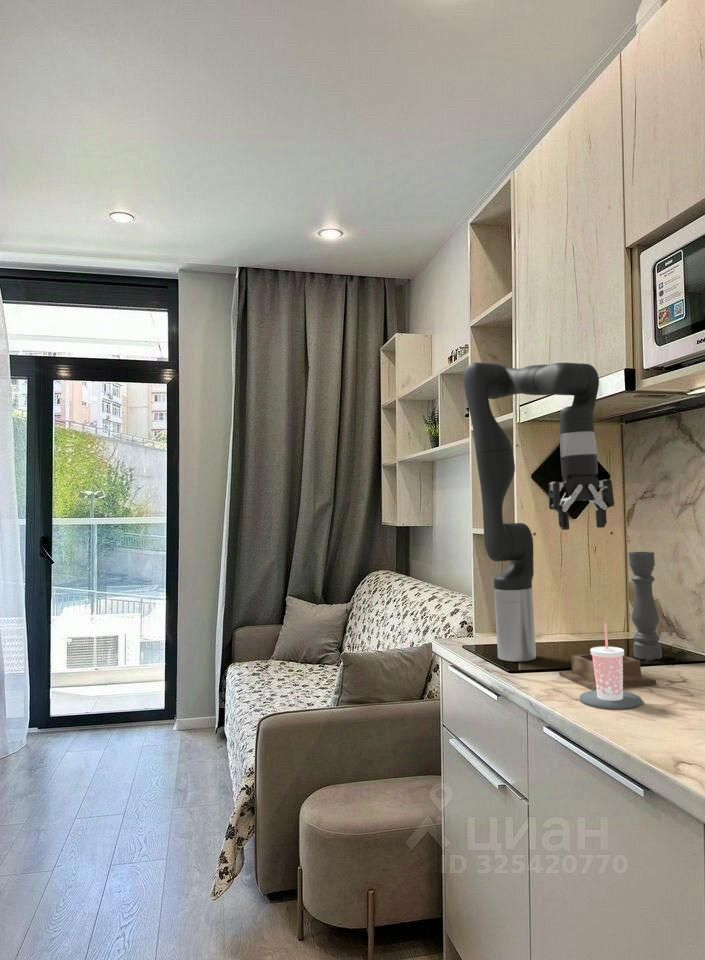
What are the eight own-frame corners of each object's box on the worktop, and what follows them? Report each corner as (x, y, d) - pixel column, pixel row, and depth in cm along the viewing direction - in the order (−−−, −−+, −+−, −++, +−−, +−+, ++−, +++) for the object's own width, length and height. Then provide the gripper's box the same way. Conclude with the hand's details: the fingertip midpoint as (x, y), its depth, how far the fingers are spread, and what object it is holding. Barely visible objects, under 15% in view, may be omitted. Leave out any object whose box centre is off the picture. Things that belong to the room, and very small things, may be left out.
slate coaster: (569, 696, 134) (568, 693, 134) (619, 690, 136) (618, 687, 136) (600, 712, 123) (600, 708, 123) (654, 705, 125) (654, 702, 125)
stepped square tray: (559, 675, 150) (558, 654, 150) (616, 669, 153) (614, 648, 153) (594, 691, 137) (593, 668, 137) (656, 684, 140) (654, 661, 140)
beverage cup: (614, 703, 125) (609, 627, 126) (586, 697, 130) (581, 623, 131) (634, 697, 129) (629, 622, 130) (605, 691, 134) (601, 619, 135)
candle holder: (663, 655, 164) (656, 551, 165) (660, 661, 159) (653, 553, 160) (635, 653, 167) (629, 551, 168) (631, 659, 162) (625, 553, 163)
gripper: (598, 454, 154) (602, 526, 153) (540, 456, 151) (544, 530, 150) (617, 451, 146) (622, 527, 146) (557, 453, 143) (562, 530, 143)
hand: (583, 528), depth 148 cm, fingers open, 8 cm apart
